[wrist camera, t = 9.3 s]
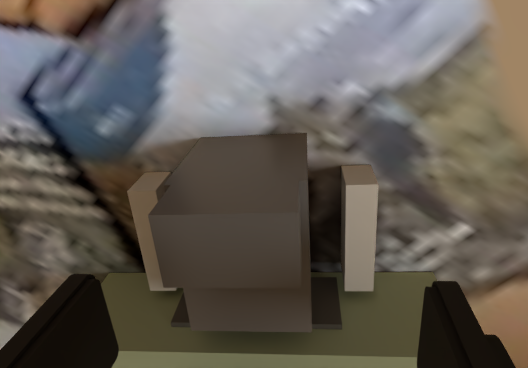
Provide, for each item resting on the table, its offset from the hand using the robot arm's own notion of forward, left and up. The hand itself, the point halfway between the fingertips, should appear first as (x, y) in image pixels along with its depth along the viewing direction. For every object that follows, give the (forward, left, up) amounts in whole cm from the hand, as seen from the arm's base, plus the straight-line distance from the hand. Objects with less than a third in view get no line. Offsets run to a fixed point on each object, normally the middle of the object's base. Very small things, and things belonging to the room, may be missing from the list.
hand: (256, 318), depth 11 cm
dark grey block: (+1, 0, -7) cm, 7 cm away
